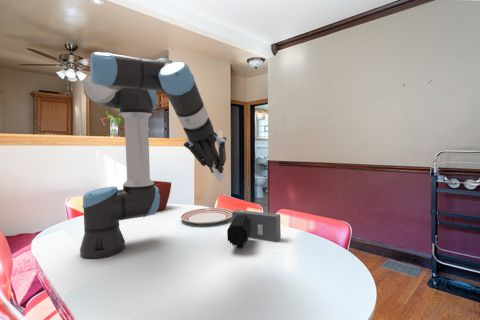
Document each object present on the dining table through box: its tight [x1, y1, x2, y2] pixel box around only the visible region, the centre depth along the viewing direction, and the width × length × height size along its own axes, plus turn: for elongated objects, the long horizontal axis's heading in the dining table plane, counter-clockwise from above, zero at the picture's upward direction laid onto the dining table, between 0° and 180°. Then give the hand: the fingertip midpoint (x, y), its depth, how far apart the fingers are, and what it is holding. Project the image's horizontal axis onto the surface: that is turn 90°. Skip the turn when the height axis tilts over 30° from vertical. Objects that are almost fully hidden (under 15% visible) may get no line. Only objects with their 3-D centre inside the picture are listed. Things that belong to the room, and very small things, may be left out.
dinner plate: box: [180, 207, 234, 226], centre depth 143 cm, size 27×27×3 cm
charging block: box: [231, 209, 282, 243], centre depth 114 cm, size 4×20×10 cm, turn 60°
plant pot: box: [152, 180, 172, 212], centre depth 168 cm, size 19×19×17 cm
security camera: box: [226, 215, 251, 249], centre depth 105 cm, size 7×18×10 cm, turn 173°
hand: (221, 178), depth 89 cm, fingers closed
